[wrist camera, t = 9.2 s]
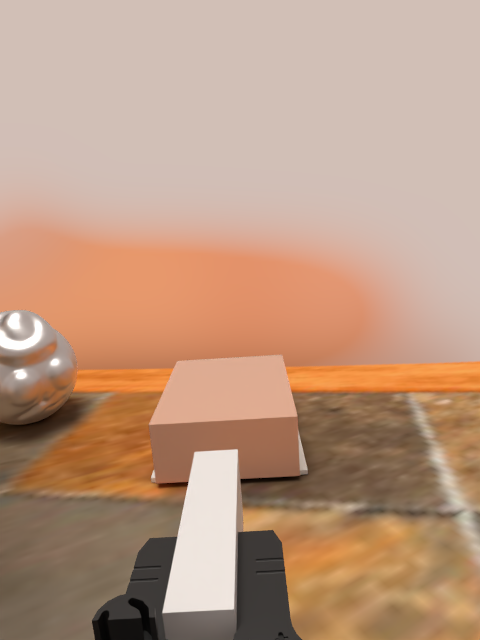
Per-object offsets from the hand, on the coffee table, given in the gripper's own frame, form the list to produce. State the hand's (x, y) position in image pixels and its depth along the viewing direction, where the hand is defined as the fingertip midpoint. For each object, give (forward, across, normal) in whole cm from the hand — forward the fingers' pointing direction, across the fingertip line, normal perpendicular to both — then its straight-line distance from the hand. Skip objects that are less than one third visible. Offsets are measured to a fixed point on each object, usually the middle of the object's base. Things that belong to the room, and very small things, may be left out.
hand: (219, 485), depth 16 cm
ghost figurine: (+23, -18, -7) cm, 30 cm away
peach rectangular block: (+11, -1, -5) cm, 12 cm away
